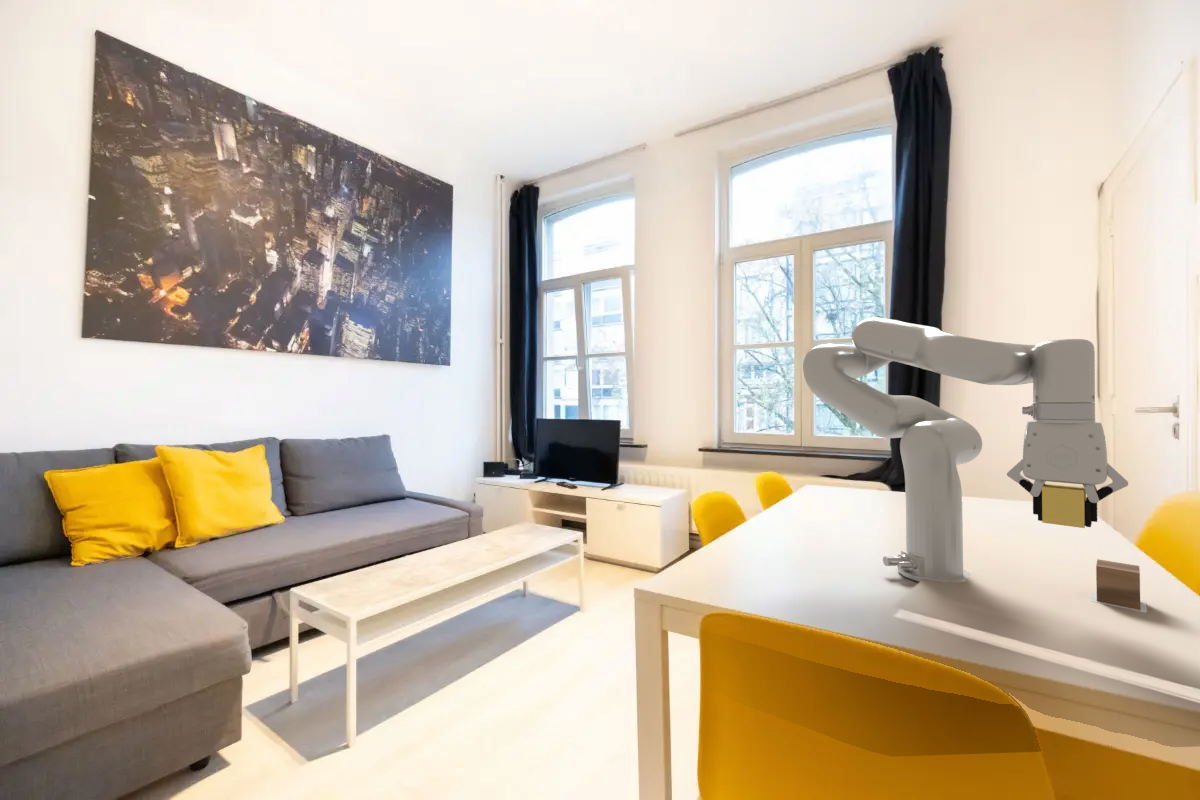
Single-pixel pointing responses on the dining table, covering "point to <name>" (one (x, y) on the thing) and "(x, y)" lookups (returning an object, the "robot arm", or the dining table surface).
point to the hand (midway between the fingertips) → (1064, 521)
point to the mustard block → (1063, 505)
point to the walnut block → (1118, 584)
